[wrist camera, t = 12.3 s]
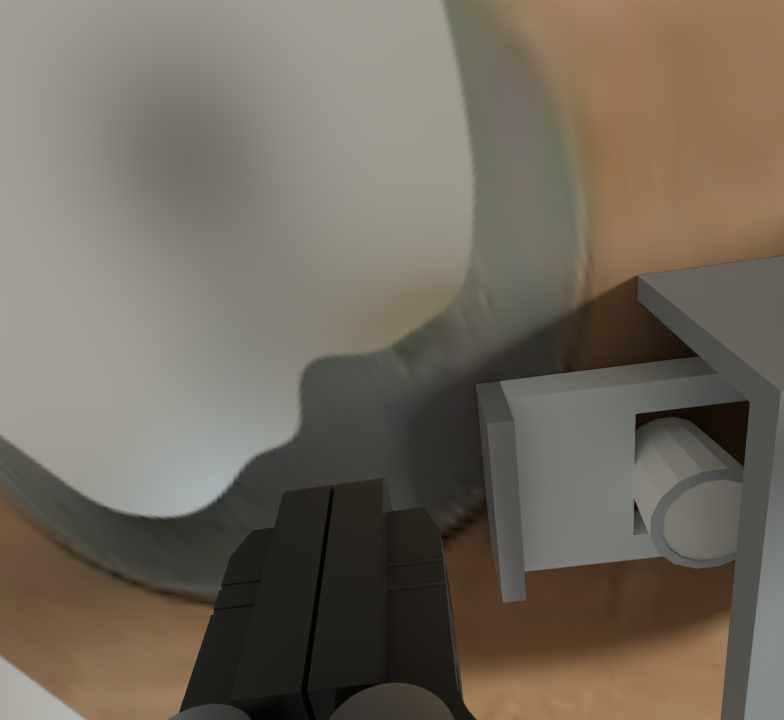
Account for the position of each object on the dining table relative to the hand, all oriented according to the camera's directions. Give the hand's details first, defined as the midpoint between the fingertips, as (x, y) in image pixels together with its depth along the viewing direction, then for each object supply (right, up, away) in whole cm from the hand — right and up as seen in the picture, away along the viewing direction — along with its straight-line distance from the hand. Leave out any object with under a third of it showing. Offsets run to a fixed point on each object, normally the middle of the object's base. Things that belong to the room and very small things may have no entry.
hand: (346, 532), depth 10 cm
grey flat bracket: (+16, -4, +33) cm, 37 cm away
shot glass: (+19, -4, +33) cm, 38 cm away
